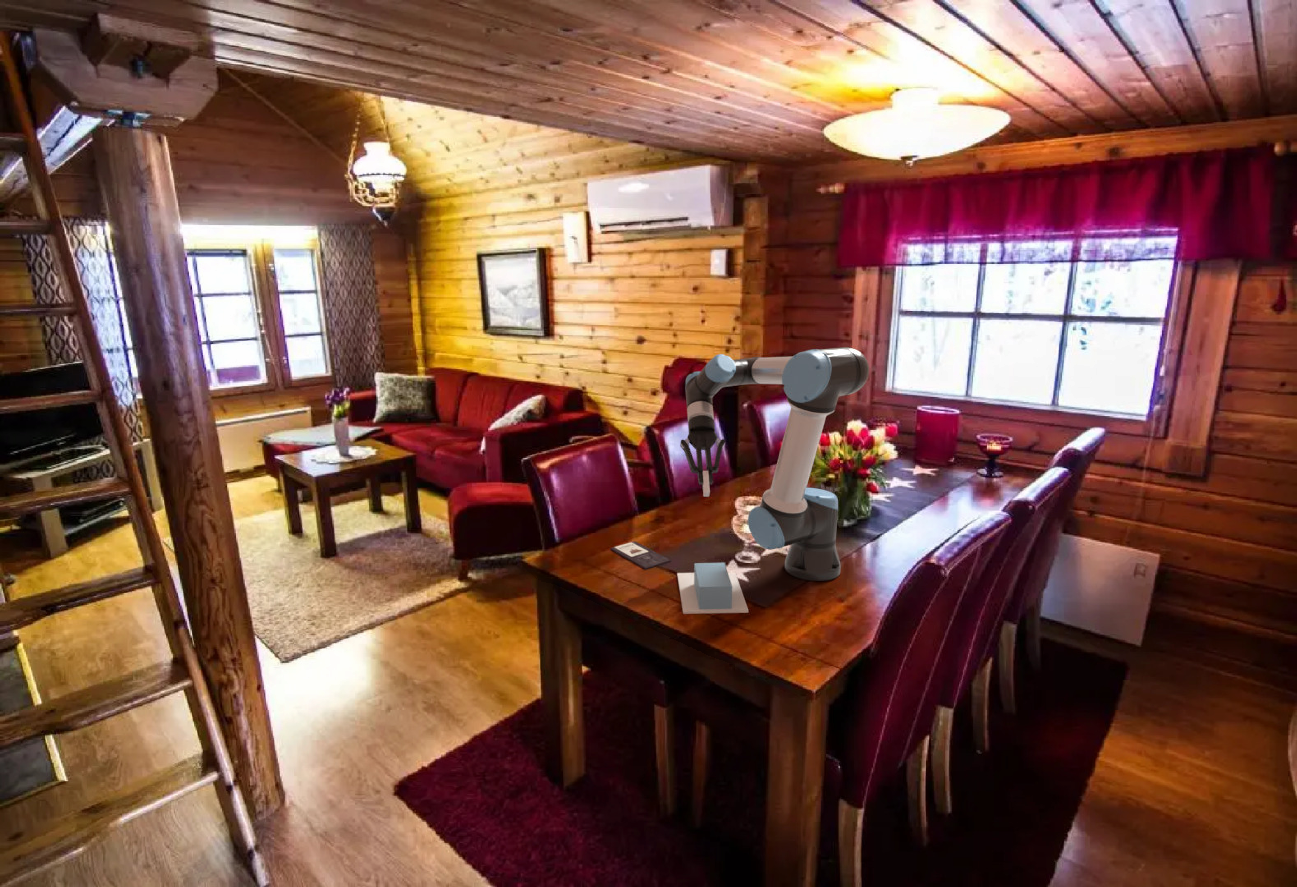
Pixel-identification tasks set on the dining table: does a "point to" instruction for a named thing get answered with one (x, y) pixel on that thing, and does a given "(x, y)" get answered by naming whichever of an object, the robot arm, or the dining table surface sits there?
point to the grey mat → (690, 596)
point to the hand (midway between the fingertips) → (706, 494)
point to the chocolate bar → (640, 555)
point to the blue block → (712, 586)
